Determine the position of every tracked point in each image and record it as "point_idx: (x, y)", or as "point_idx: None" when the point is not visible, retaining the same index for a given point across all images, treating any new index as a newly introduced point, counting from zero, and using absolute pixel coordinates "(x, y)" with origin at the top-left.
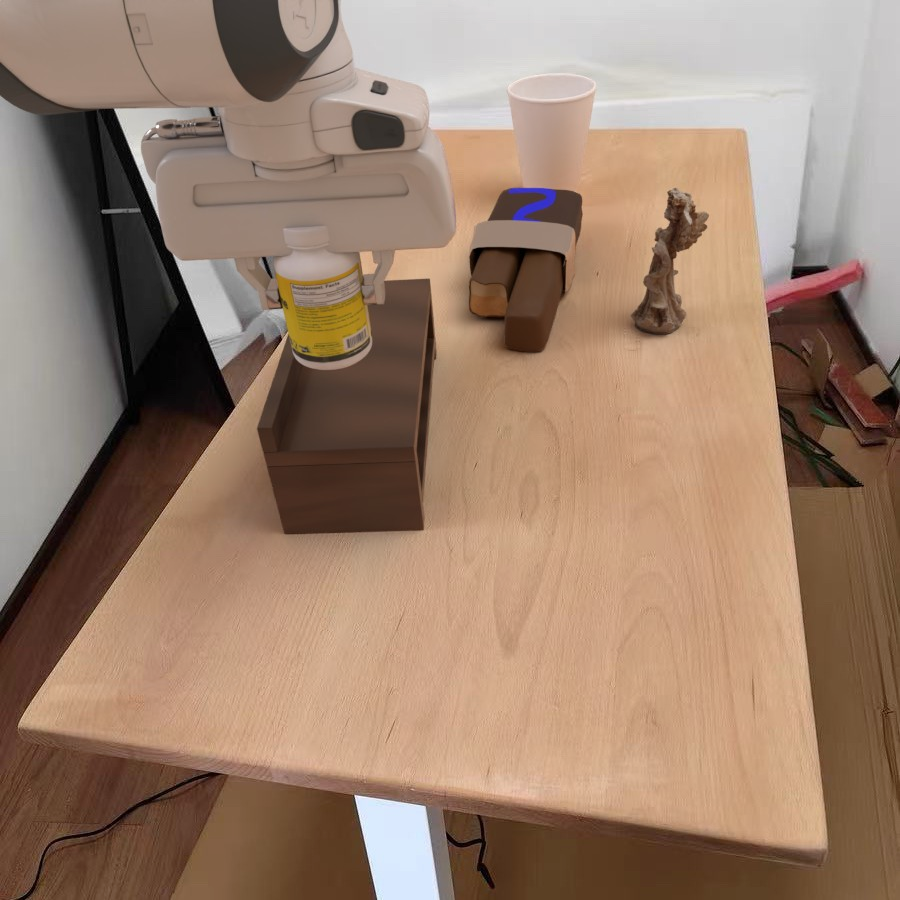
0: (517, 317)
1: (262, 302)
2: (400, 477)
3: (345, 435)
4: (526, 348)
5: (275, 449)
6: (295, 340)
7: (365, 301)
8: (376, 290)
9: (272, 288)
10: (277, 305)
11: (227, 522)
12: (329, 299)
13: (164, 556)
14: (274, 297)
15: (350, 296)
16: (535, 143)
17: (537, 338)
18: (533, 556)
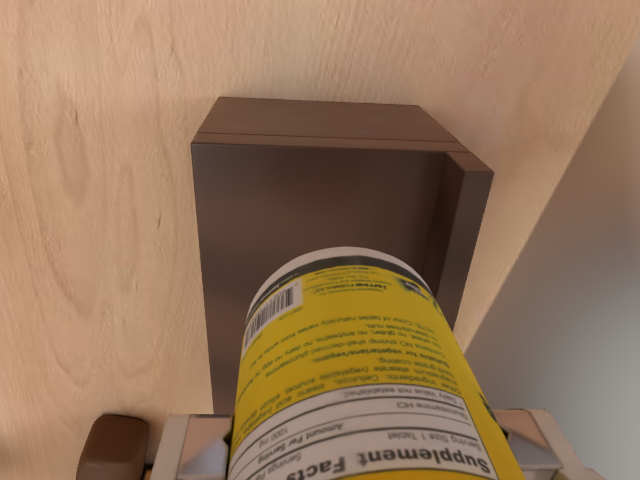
0: (112, 461)
1: (554, 428)
2: (231, 123)
3: (323, 187)
4: (117, 419)
5: (450, 153)
6: (438, 314)
7: (223, 422)
8: (173, 458)
9: (535, 475)
10: (505, 417)
11: (495, 136)
12: (332, 410)
13: (583, 75)
14: (521, 442)
15: (258, 430)
16: None
17: (96, 431)
18: (41, 22)
